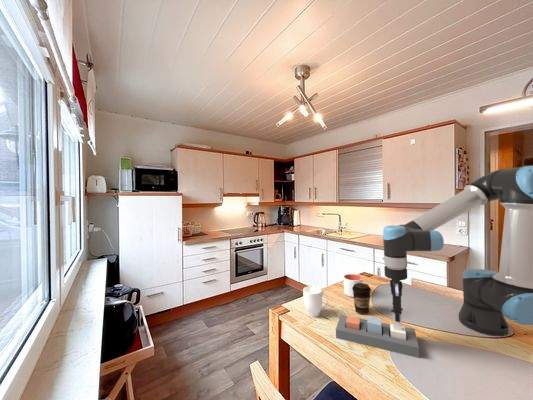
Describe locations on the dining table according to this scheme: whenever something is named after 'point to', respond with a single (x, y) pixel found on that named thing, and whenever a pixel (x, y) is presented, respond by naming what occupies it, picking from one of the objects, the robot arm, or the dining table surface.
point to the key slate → (374, 325)
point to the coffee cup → (361, 298)
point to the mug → (313, 300)
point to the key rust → (353, 323)
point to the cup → (351, 283)
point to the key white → (397, 332)
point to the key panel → (379, 337)
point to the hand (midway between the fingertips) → (397, 328)
